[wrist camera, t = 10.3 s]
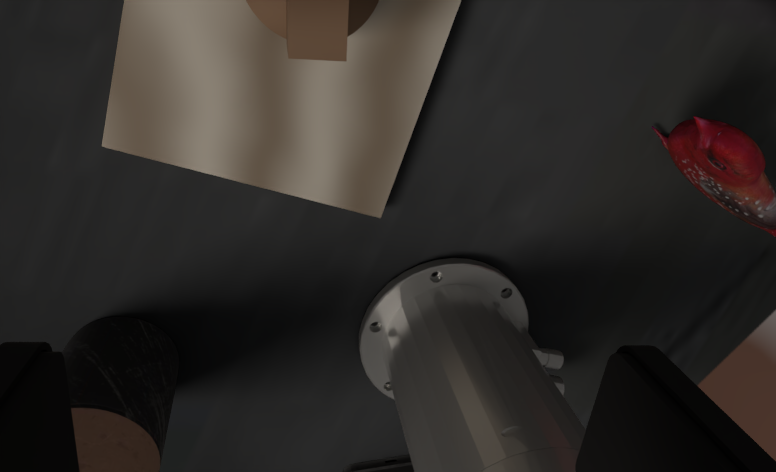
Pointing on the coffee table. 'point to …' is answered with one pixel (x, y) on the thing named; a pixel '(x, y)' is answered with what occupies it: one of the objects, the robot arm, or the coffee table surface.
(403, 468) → the phone
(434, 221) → the coffee table surface
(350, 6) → the knob
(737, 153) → the decorative bird figurine
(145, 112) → the dial board
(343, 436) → the coffee table surface
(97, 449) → the travel mug
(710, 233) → the coffee table surface
